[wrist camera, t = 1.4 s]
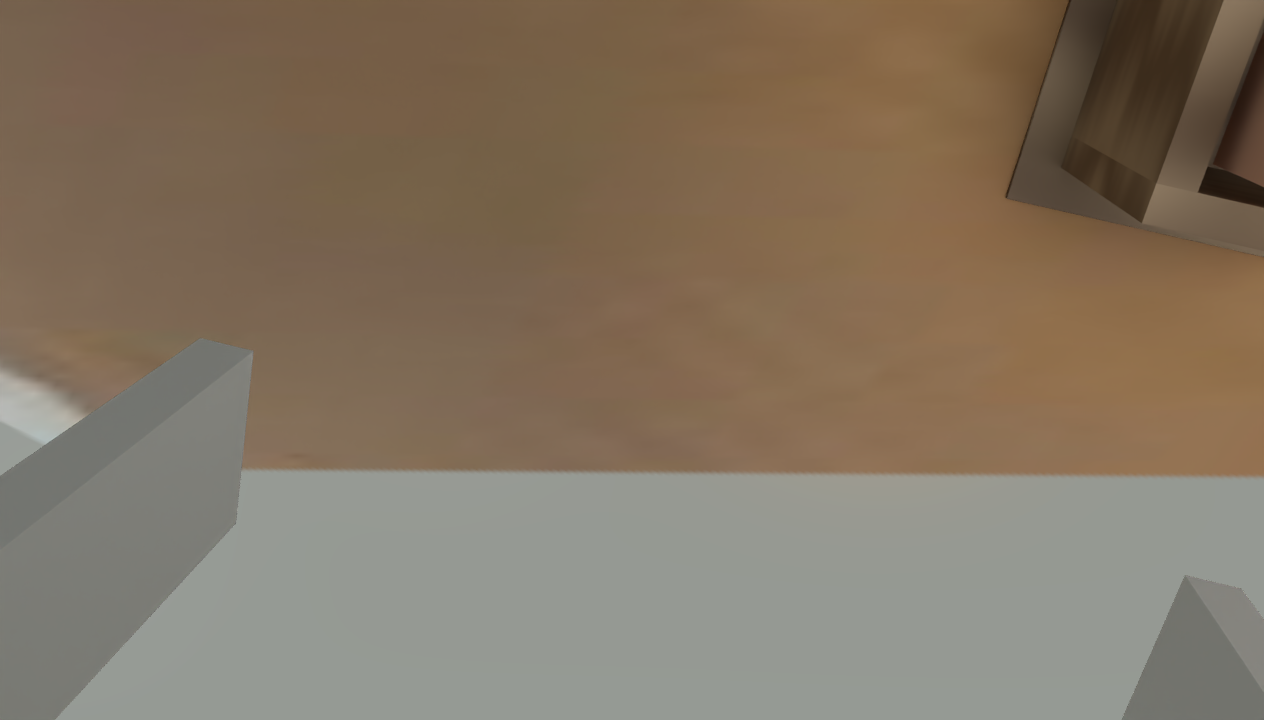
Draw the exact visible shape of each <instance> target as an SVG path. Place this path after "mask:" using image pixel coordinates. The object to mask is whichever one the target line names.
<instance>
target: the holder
mask: <svg viewBox="0 0 1264 720" xmlns="http://www.w3.org/2000/svg"><path fill="white" fill-rule="evenodd" d="M1263 31H1264V0H1069V3H1068V6H1067V9H1066V13H1065V16H1064V19H1063V22H1062V25H1061V28H1060V31H1059V34H1058V37H1057V40H1056V43H1055V47H1054V50H1053V53H1052V56H1051V59H1050V62H1049V65H1048V68H1047V71H1046V74H1045V77H1044V80H1043V84H1042V87H1041V90H1040V93H1039V96H1038V99H1037V102H1036V105H1035V108H1034V111H1033V114H1032V118H1031V121H1030V124H1029V127H1028V130H1027V133H1026V136H1025V139H1024V142H1023V145H1022V148H1021V152H1020V155H1019V158H1018V161H1017V164H1016V167H1015V170H1014V173H1013V176H1012V179H1011V182H1010V185H1009V189H1008V192H1007V195H1006V198H1007V199H1011V200H1015V201H1020V202H1024V203H1029V204H1033V205H1037V206H1042V207H1046V208H1051V209H1055V210H1059V211H1064V212H1068V213H1073V214H1077V215H1081V216H1086V217H1090V218H1095V219H1099V220H1103V221H1108V222H1112V223H1117V224H1121V225H1125V226H1130V227H1134V228H1139V229H1143V230H1147V231H1152V232H1156V233H1161V234H1165V235H1169V236H1174V237H1178V238H1183V239H1187V240H1191V241H1196V242H1200V243H1205V244H1209V245H1213V246H1218V247H1222V248H1227V249H1231V250H1235V251H1240V252H1244V253H1248V254H1253V255H1257V256H1262V257H1264V187H1262V186H1260V185H1258V184H1256V183H1253V182H1251V181H1249V180H1247V179H1245V178H1242V177H1240V176H1238V175H1236V174H1233V173H1231V172H1229V171H1227V170H1224V169H1222V168H1220V167H1218V166H1216V165H1213V162H1214V160H1215V157H1216V154H1217V152H1218V149H1219V146H1220V144H1221V141H1222V139H1223V136H1224V133H1225V131H1226V128H1227V126H1228V123H1229V120H1230V118H1231V115H1232V112H1233V110H1234V107H1235V105H1236V102H1237V99H1238V97H1239V94H1240V92H1241V89H1242V86H1243V84H1244V81H1245V78H1246V76H1247V73H1248V71H1249V68H1250V65H1251V63H1252V60H1253V58H1254V55H1255V52H1256V50H1257V47H1258V44H1259V42H1260V39H1261V37H1262V34H1263Z"/></svg>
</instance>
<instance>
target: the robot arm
mask: <svg viewBox="0 0 1264 720" xmlns="http://www.w3.org/2000/svg"><path fill="white" fill-rule="evenodd" d="M253 352H254V351H252V350H248V349H244V348H239V347H235V346H231V345H227V344H223V343H219V342H214V341H210V340H206V339H202V338H200V339H198V340H197V341H195V342H194V343H193V344H191V345H190V346H188V347H187V348H185V349H184V350H182V351H181V352H179V353H178V354H177V355H175V356H174V357H172V358H171V359H169V360H168V361H166V362H165V363H163V364H162V365H161V366H159V367H158V368H156V369H155V370H153V371H152V372H150V373H149V374H148V375H146V376H145V377H143V378H142V379H140V380H139V381H137V382H136V383H134V384H133V385H132V386H130V387H129V388H127V389H126V390H124V391H123V392H121V393H120V394H118V395H117V396H116V397H114V398H113V399H111V400H110V401H108V402H107V403H105V404H104V405H103V406H101V407H100V408H98V409H97V410H95V411H94V412H92V413H91V414H89V415H88V416H87V417H85V418H84V419H82V420H81V421H79V422H78V423H76V424H75V425H73V426H72V427H71V428H69V429H68V430H66V431H65V432H63V433H62V434H60V435H59V436H58V437H56V438H55V439H53V440H52V441H50V442H49V443H47V444H46V445H44V446H43V447H42V448H40V449H39V450H37V451H36V452H34V453H33V454H31V455H30V456H28V457H27V458H26V459H24V460H23V461H21V462H20V463H18V464H17V465H15V466H14V467H12V468H11V469H10V470H8V471H7V472H5V473H4V474H2V475H1V476H0V720H55V719H56V718H57V717H58V716H59V715H60V714H61V712H62V711H63V710H64V709H65V708H66V707H67V706H68V705H69V704H70V702H72V700H73V699H74V698H75V697H76V696H77V695H78V694H79V693H80V692H81V691H82V690H83V689H84V688H85V686H86V685H87V684H88V683H89V682H90V681H91V680H92V679H93V678H94V677H95V676H96V674H97V673H98V672H99V671H100V670H101V669H102V668H103V667H104V666H105V664H107V662H108V661H109V660H110V659H111V658H112V657H113V656H114V655H115V654H116V653H117V652H118V651H119V649H120V648H121V647H122V646H123V645H124V644H125V643H126V642H127V641H128V640H129V639H130V638H131V637H132V635H133V634H134V633H135V632H136V631H137V630H138V629H139V628H140V627H141V626H142V625H143V623H144V622H145V621H146V620H147V619H148V618H149V617H150V616H151V615H152V614H153V613H154V612H155V610H156V609H157V608H158V607H159V606H160V605H161V604H162V603H163V602H164V601H165V600H166V598H167V597H168V596H169V595H170V594H171V593H172V592H173V591H174V590H175V589H176V587H178V585H179V584H180V583H181V582H182V581H183V580H184V579H185V578H186V577H187V576H188V575H189V574H190V572H191V571H192V570H193V569H194V568H195V567H196V566H197V565H198V564H199V563H200V562H201V561H202V560H203V558H204V557H205V556H206V555H207V554H208V553H209V552H210V551H211V550H212V549H213V548H214V546H215V545H216V544H217V543H218V542H219V541H220V540H221V539H222V538H223V537H224V536H225V534H226V533H227V532H228V531H229V530H230V529H231V528H232V527H233V526H234V525H235V524H236V517H237V507H238V497H239V488H240V487H239V486H240V478H241V468H242V458H243V449H244V439H245V429H246V420H247V410H248V400H249V390H250V381H251V371H252V361H253ZM1122 720H1264V619H1263V617H1262V616H1261V615H1260V613H1259V612H1258V611H1257V609H1256V608H1255V607H1254V605H1253V604H1252V603H1251V601H1250V600H1249V599H1248V597H1247V596H1246V594H1245V593H1244V592H1243V590H1242V589H1241V588H1236V587H1232V586H1228V585H1224V584H1219V583H1216V582H1212V581H1207V580H1203V579H1199V578H1195V577H1190V576H1187V575H1185V577H1184V579H1183V581H1182V583H1181V586H1180V588H1179V590H1178V593H1177V595H1176V597H1175V599H1174V602H1173V604H1172V606H1171V609H1170V611H1169V613H1168V615H1167V618H1166V620H1165V622H1164V624H1163V627H1162V629H1161V631H1160V634H1159V636H1158V638H1157V641H1156V643H1155V645H1154V647H1153V650H1152V652H1151V654H1150V656H1149V659H1148V661H1147V663H1146V665H1145V668H1144V670H1143V672H1142V675H1141V677H1140V679H1139V681H1138V684H1137V686H1136V688H1135V691H1134V693H1133V695H1132V697H1131V700H1130V702H1129V704H1128V706H1127V709H1126V711H1125V713H1124V716H1123V718H1122Z"/></svg>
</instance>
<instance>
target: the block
mask: <svg viewBox="0 0 1264 720" xmlns="http://www.w3.org/2000/svg"><path fill="white" fill-rule="evenodd" d="M1213 165H1216V166H1218V167H1220V168H1222V169H1224V170H1227V171H1229V172H1231V173H1233V174H1236V175H1238V176H1240V177H1242V178H1245V179H1247V180H1249V181H1251V182H1253V183H1256V184H1258V185H1260V186H1262V187H1264V31H1263V34H1262V37H1261V39H1260V42H1259V44H1258V47H1257V50H1256V52H1255V55H1254V58H1253V60H1252V63H1251V65H1250V68H1249V71H1248V73H1247V76H1246V78H1245V81H1244V84H1243V86H1242V89H1241V92H1240V94H1239V97H1238V99H1237V102H1236V105H1235V107H1234V110H1233V112H1232V115H1231V118H1230V120H1229V123H1228V126H1227V128H1226V131H1225V133H1224V136H1223V139H1222V141H1221V144H1220V146H1219V149H1218V152H1217V154H1216V157H1215V160H1214V162H1213Z"/></svg>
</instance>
